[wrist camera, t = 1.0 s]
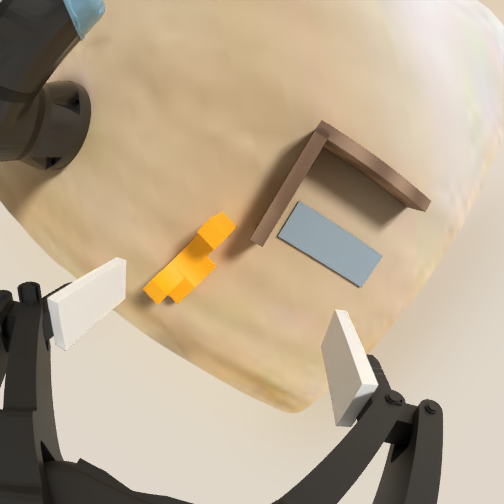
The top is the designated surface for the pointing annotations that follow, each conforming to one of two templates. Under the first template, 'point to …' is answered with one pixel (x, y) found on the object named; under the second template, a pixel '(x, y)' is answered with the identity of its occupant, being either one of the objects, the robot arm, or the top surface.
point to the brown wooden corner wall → (353, 156)
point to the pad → (329, 244)
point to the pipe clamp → (190, 262)
